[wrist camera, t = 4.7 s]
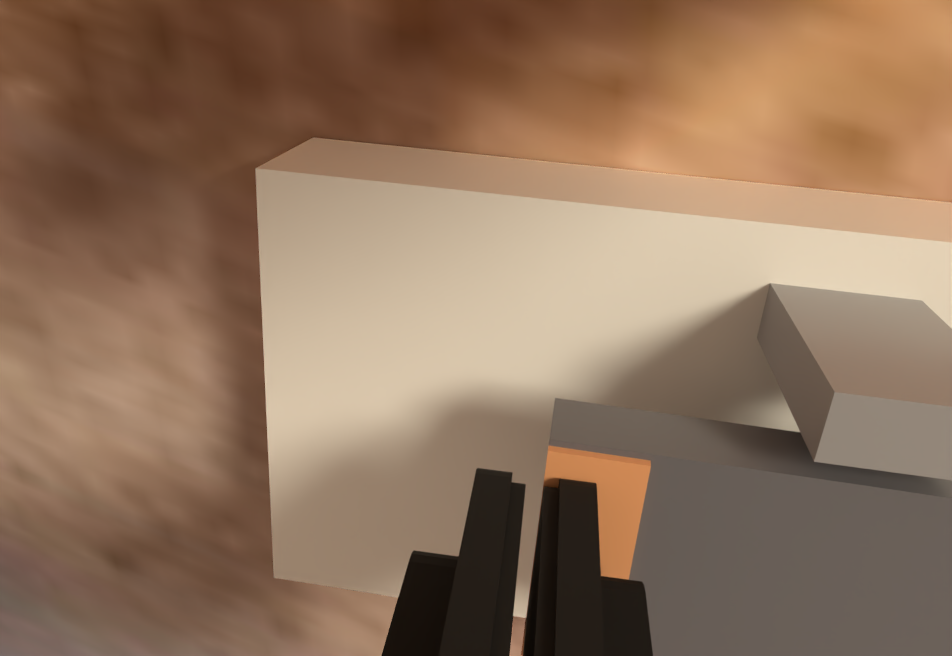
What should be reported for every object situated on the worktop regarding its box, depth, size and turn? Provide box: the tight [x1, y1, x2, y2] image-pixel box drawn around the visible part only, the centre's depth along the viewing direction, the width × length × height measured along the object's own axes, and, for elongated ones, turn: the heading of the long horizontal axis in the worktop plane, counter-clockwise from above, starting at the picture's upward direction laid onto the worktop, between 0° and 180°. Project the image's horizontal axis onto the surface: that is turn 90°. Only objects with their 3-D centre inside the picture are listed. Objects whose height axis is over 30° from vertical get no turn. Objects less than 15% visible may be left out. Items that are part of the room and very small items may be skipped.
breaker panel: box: [255, 137, 952, 618], centre depth 14 cm, size 20×9×7 cm, turn 86°
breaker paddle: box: [521, 398, 952, 656], centre depth 12 cm, size 9×4×1 cm, turn 86°
